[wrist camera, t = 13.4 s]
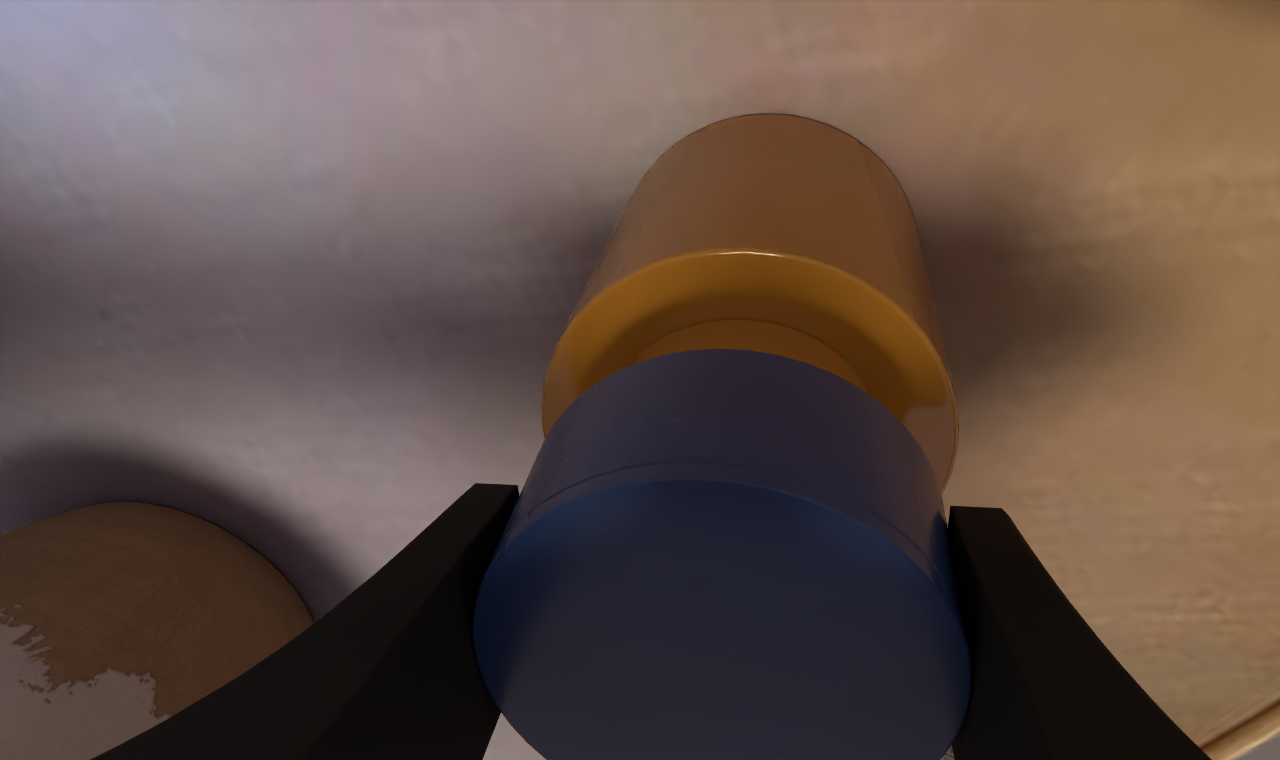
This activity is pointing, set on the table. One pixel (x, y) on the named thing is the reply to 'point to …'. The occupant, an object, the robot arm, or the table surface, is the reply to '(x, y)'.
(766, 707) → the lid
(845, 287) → the jar
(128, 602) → the vase
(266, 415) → the table surface
